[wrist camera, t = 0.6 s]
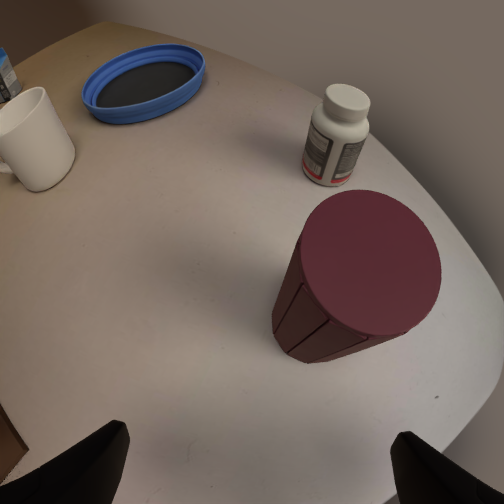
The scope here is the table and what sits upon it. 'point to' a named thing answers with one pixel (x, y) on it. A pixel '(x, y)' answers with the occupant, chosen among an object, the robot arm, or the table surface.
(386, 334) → the maroon grooved cylinder
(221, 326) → the table surface
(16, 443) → the hat stand
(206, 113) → the table surface
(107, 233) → the table surface
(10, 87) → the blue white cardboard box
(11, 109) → the mug
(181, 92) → the bowl
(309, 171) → the pill bottle
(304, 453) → the table surface
